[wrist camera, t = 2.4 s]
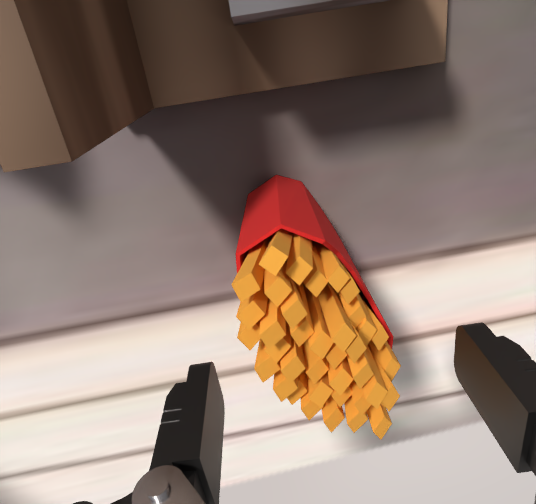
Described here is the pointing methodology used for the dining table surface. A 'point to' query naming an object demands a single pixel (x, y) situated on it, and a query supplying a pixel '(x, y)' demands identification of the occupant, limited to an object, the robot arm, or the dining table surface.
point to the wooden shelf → (183, 59)
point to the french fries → (311, 311)
